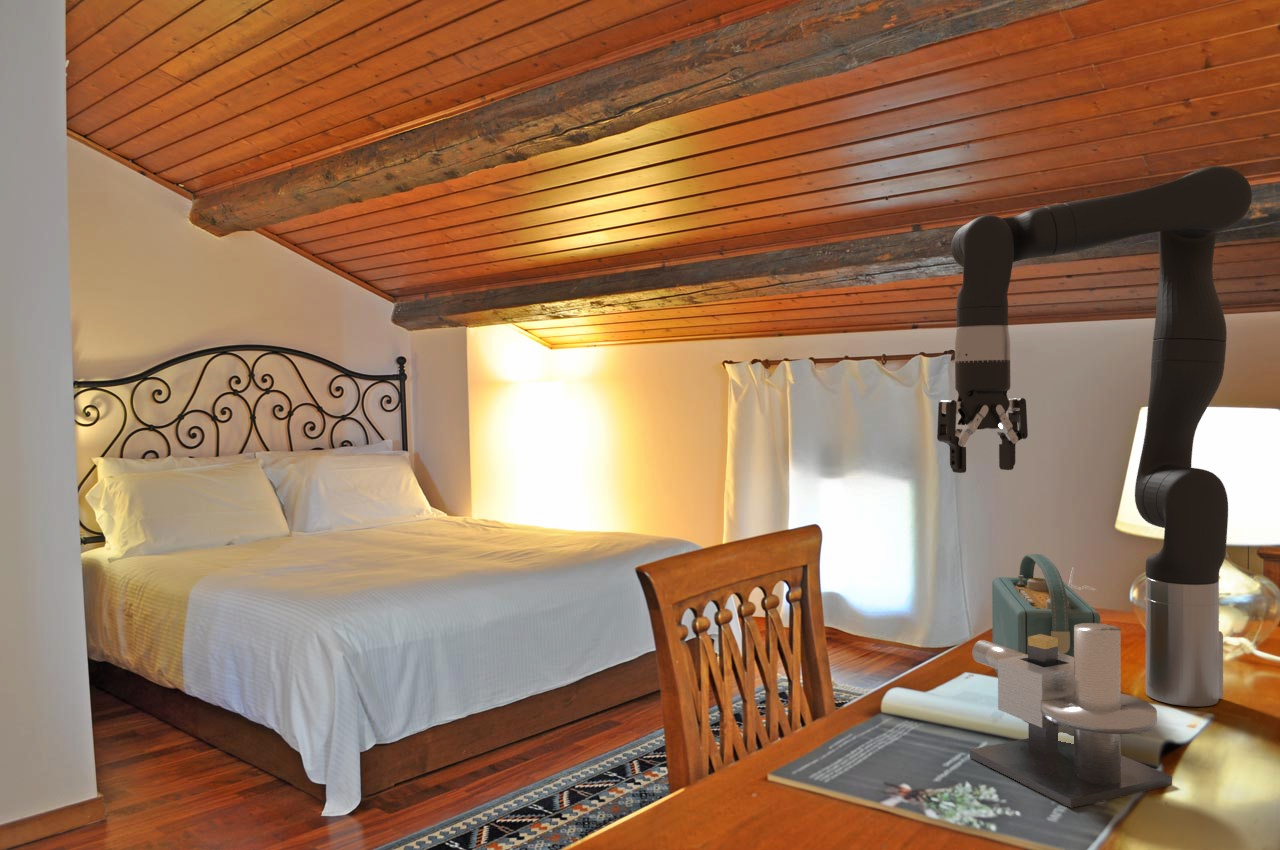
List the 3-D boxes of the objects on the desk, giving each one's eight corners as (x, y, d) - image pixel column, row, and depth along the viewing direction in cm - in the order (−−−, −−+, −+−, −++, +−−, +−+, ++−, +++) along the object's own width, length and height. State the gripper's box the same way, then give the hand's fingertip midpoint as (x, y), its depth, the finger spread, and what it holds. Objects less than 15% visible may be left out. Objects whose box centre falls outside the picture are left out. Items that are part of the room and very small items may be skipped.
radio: (1104, 724, 132) (1104, 576, 132) (1019, 721, 135) (1018, 574, 134) (1062, 669, 158) (1062, 544, 157) (991, 667, 160) (990, 544, 159)
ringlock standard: (1026, 723, 133) (1026, 590, 133) (1191, 793, 110) (1192, 632, 109) (935, 740, 128) (934, 601, 127) (1089, 817, 105) (1088, 648, 104)
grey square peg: (1040, 746, 122) (1040, 633, 122) (1058, 752, 120) (1057, 637, 120) (1028, 750, 121) (1028, 637, 120) (1046, 756, 119) (1045, 641, 118)
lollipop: (1088, 638, 176) (1088, 571, 176) (1035, 629, 183) (1035, 564, 182) (1101, 631, 180) (1101, 566, 180) (1049, 623, 187) (1049, 560, 187)
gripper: (959, 358, 136) (960, 475, 137) (1040, 357, 142) (1041, 470, 142) (925, 359, 143) (926, 471, 144) (1003, 358, 149) (1003, 466, 149)
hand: (983, 471), depth 143 cm, fingers open, 8 cm apart
